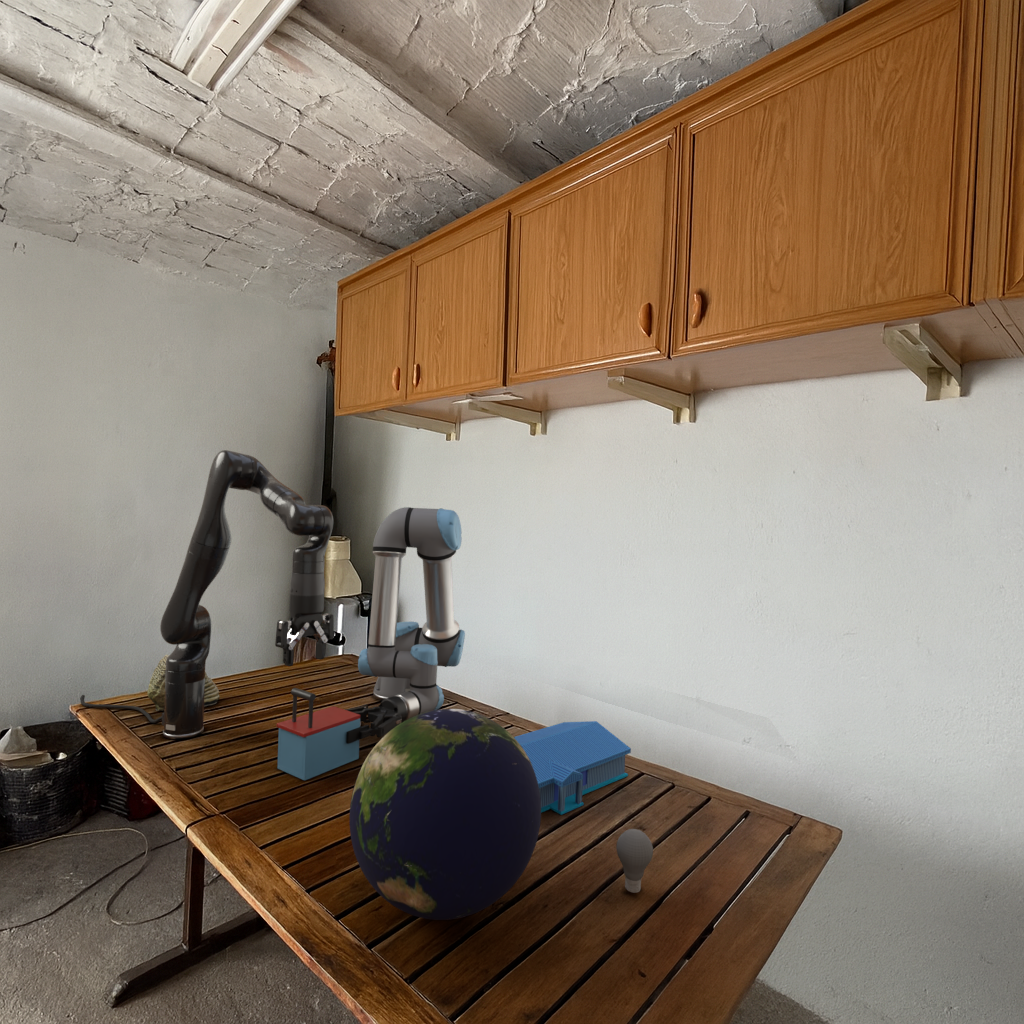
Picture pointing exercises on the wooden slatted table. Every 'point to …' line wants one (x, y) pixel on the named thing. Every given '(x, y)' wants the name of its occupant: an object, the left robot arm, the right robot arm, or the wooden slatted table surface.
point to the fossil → (158, 687)
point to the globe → (445, 814)
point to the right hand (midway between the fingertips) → (332, 732)
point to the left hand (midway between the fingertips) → (304, 662)
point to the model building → (573, 762)
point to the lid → (314, 717)
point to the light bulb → (634, 857)
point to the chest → (316, 751)
